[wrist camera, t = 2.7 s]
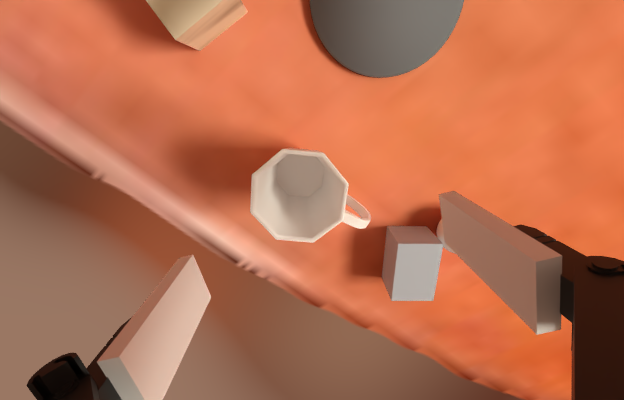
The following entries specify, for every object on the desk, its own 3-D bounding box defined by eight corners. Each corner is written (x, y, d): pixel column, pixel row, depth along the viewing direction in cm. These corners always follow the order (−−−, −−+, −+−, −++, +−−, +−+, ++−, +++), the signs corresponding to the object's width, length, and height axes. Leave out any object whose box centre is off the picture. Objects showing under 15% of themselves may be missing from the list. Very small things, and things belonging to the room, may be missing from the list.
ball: (427, 210, 29) (445, 227, 26) (468, 201, 29) (492, 216, 25) (432, 245, 31) (450, 266, 27) (471, 236, 30) (494, 256, 27)
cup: (284, 118, 26) (274, 126, 19) (379, 170, 28) (406, 198, 20) (250, 185, 28) (230, 218, 21) (341, 230, 30) (353, 276, 22)
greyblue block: (386, 225, 30) (398, 243, 26) (426, 225, 30) (443, 244, 26) (381, 276, 32) (391, 300, 28) (418, 276, 32) (433, 300, 28)
